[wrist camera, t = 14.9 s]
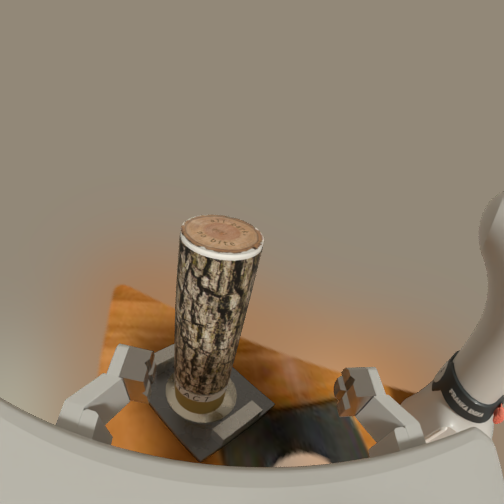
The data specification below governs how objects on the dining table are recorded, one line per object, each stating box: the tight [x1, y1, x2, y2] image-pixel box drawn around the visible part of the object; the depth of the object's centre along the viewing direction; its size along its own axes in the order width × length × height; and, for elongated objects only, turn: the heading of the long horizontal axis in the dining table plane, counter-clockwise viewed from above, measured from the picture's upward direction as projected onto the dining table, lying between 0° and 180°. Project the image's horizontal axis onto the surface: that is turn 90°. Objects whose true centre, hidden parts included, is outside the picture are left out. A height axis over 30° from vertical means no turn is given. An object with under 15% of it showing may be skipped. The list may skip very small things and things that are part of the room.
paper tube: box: [174, 215, 264, 414], centre depth 29 cm, size 7×7×25 cm
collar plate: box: [149, 344, 275, 462], centre depth 35 cm, size 16×14×4 cm
